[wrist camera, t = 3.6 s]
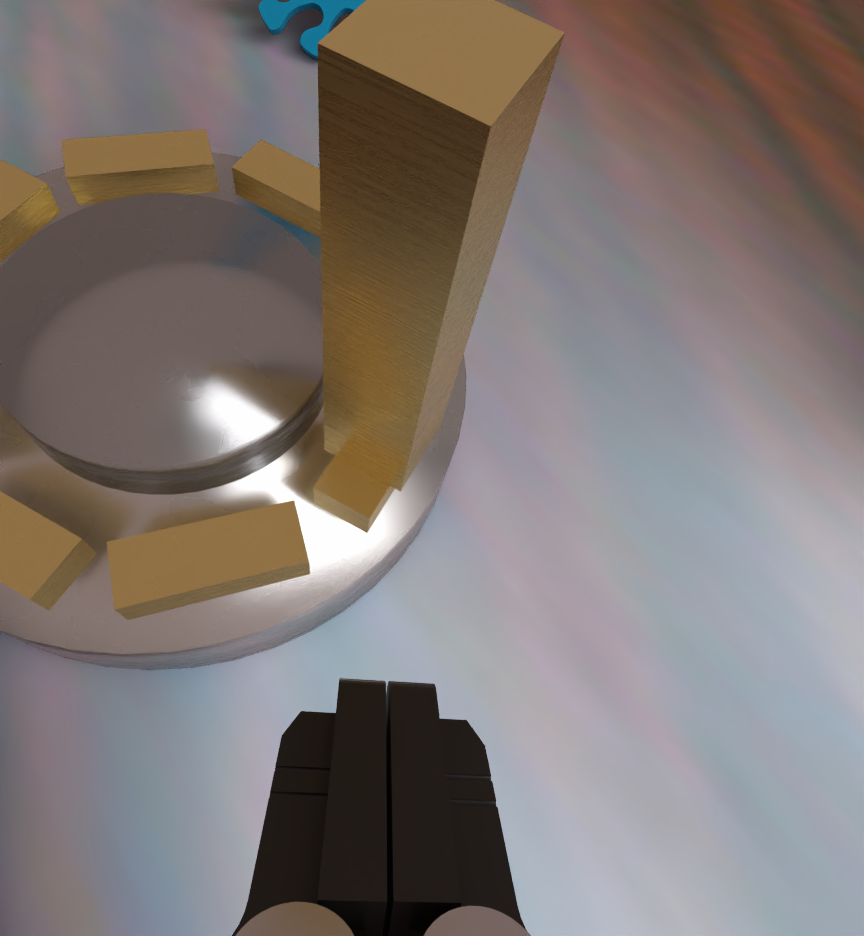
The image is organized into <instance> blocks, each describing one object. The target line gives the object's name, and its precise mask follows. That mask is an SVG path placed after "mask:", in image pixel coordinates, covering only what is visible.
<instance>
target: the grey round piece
mask: <svg viewBox="0 0 864 936" xmlns="http://www.w3.org/2000/svg"><path fill="white" fill-rule="evenodd" d="M212 157H213V162H214V166H215V172H216V177H217V182H218V187H219V192H211V193H201V194H178V193H158V194H144V195H135V196H128V197H123V198H118V199H113V200H109V201H105V202H102V203H99V204H88V205H78V204H77V202H76V199H75V197H74V195H73V192H72V190H71V188H70V186H69V183H68V181H67V179H66V176H65V167H63V168H60V169H56V170H53V171H49V172H47V173H44V174H41V175H39V176H36V177H35V178H37V179H39V180H41V181H43V182H45V183H47V184H48V187H49V189H50V191H51V193H52V195H53V197H54V199H55V201H56V203H57V205H58V208H59V210H60V212H61V213H59V214H58V215H57V216H56V217H55V218H53V219H52V220H51V221H50V222H49V223H47V224H46V225H45V226H44V227H42V228H41V229H40V230H39V231H38V232H36V233H35V234H34V235H33V236H32V237H30V238H29V239H28V240H27V241H25V242H24V243H23V244H22V245H21V246H19V247H18V248H17V249H16V250H15V251H13V252H12V253H11V254H10V255H8V256H7V257H6V258H5V259H4V260H2V261H1V262H0V491H1V492H3V493H4V494H6V495H8V496H9V497H11V498H13V499H15V500H16V501H18V502H20V503H21V504H23V505H25V506H27V507H28V508H30V509H32V510H33V511H35V512H37V513H39V514H40V515H42V516H44V517H46V518H47V519H49V520H51V521H52V522H54V523H56V524H58V525H59V526H61V527H63V528H64V529H66V530H68V531H70V532H71V533H73V534H75V535H76V536H78V537H80V538H82V539H83V540H84V541H85V542H86V543H87V544H88V545H89V546H90V547H91V548H92V549H93V550H94V551H95V552H96V553H97V554H96V555H95V557H94V558H93V559H92V560H91V561H90V563H89V564H88V565H87V566H86V567H85V569H84V570H83V571H82V572H81V573H80V575H79V576H78V577H77V578H76V579H75V581H74V582H73V583H72V584H71V585H70V587H69V588H68V589H67V590H66V591H65V592H64V594H63V595H62V596H61V597H60V598H59V600H58V601H57V602H56V603H55V604H54V606H53V607H52V608H51V609H50V610H49V611H48V610H46V609H45V608H43V607H41V606H40V605H38V604H36V603H35V602H33V601H31V600H30V599H28V598H26V597H25V596H23V595H21V594H20V593H18V592H16V591H15V590H13V589H11V588H9V587H8V586H6V585H4V584H3V583H1V582H0V632H2V633H5V634H7V635H9V636H11V637H14V638H16V639H18V640H21V641H23V642H25V643H27V644H30V645H33V646H35V647H38V648H41V649H43V650H46V651H49V652H52V653H54V654H57V655H60V656H62V657H65V658H69V659H74V660H78V661H83V662H88V663H92V664H97V665H101V666H106V667H118V668H130V669H143V670H159V669H178V668H194V667H199V666H205V665H210V664H216V663H222V662H227V661H233V660H237V659H240V658H243V657H246V656H249V655H253V654H256V653H259V652H262V651H266V650H269V649H272V648H275V647H277V646H279V645H281V644H284V643H286V642H288V641H290V640H292V639H295V638H297V637H299V636H301V635H303V634H306V633H308V632H310V631H312V630H314V629H315V628H317V627H319V626H320V625H322V624H323V623H325V622H327V621H328V620H330V619H332V618H333V617H335V616H336V615H338V614H340V613H341V612H343V611H345V610H346V609H347V608H348V607H350V606H351V605H352V604H353V603H355V602H356V601H357V600H358V599H360V598H361V597H362V596H363V595H364V594H366V593H367V592H368V591H369V590H371V589H372V588H373V587H374V586H375V585H376V584H377V583H378V582H379V581H380V580H381V579H382V578H383V577H384V576H385V575H386V574H387V573H388V572H389V571H390V570H391V569H392V567H393V566H394V565H395V564H396V563H397V562H398V561H399V560H400V558H401V557H402V556H403V554H404V553H405V552H406V550H407V549H408V547H409V546H410V545H411V543H412V542H413V541H414V539H415V538H416V536H417V535H418V534H419V532H420V530H421V528H422V526H423V524H424V522H425V521H426V519H427V517H428V515H429V513H430V511H431V509H432V507H433V506H434V503H435V501H436V498H437V495H438V493H439V490H440V487H441V485H442V482H443V480H444V477H445V474H446V472H447V469H448V466H449V463H450V461H451V458H452V455H453V452H454V450H455V447H456V444H457V441H458V438H459V434H460V429H461V424H462V419H463V414H464V409H465V394H466V369H465V360H464V354H463V357H462V360H461V363H460V367H459V370H458V373H457V376H456V379H455V382H454V386H453V389H452V392H451V395H450V398H449V401H448V405H447V408H446V411H445V414H444V417H443V420H442V424H441V427H440V428H439V430H438V432H437V433H436V435H435V436H434V438H433V440H432V441H431V443H430V445H429V446H428V448H427V450H426V451H425V453H424V454H423V456H422V458H421V459H420V461H419V463H418V464H417V466H416V467H415V469H414V471H413V472H412V474H411V476H410V477H409V479H408V481H407V482H406V484H405V485H404V487H403V489H402V490H401V492H400V491H398V490H396V489H394V491H393V492H392V494H391V496H390V497H389V499H388V501H387V502H386V504H385V505H384V507H383V509H382V510H381V512H380V514H379V515H378V517H377V518H376V520H375V522H374V523H373V525H372V526H371V528H370V530H369V531H368V533H366V532H364V531H362V530H360V529H358V528H357V527H355V526H353V525H351V524H349V523H348V522H346V521H344V520H342V519H340V518H339V517H337V516H335V515H333V514H331V513H330V512H328V511H326V510H324V509H322V508H321V507H319V506H317V505H315V504H314V492H313V487H314V486H315V484H316V483H317V481H318V480H319V478H320V477H321V476H322V474H323V473H324V471H325V470H326V468H327V467H328V465H329V464H330V463H331V461H332V460H333V458H334V457H335V456H334V455H332V454H330V453H329V452H327V451H325V450H324V394H323V335H322V276H321V238H320V237H318V236H316V235H314V234H312V233H310V232H308V231H306V230H304V229H302V228H300V227H298V226H296V225H294V224H292V223H291V222H289V221H287V220H285V219H283V218H281V217H279V216H277V215H275V214H273V213H271V212H269V211H267V210H265V209H263V208H261V207H259V206H257V205H255V204H253V203H251V202H249V201H247V200H245V199H244V198H242V197H240V196H238V195H236V191H235V185H234V179H233V173H232V166H233V165H234V164H235V163H236V162H238V161H239V160H240V159H241V158H242V157H237V156H231V155H225V154H217V153H212ZM292 500H295V505H296V509H297V513H298V517H299V521H300V526H301V530H302V534H303V538H304V542H305V546H306V551H307V555H308V559H309V566H310V574H309V575H305V576H301V577H297V578H293V579H289V580H285V581H281V582H277V583H273V584H269V585H266V586H262V587H258V588H254V589H250V590H246V591H242V592H238V593H234V594H230V595H226V596H222V597H218V598H214V599H210V600H206V601H202V602H199V603H195V604H191V605H187V606H183V607H179V608H175V609H171V610H167V611H163V612H159V613H155V614H151V615H147V616H143V617H139V618H135V619H131V620H127V619H126V618H124V617H123V616H122V615H120V614H119V613H118V612H117V611H115V610H114V603H113V594H112V586H111V577H110V568H109V559H108V550H107V542H108V541H113V540H117V539H122V538H126V537H131V536H135V535H140V534H144V533H149V532H153V531H158V530H162V529H167V528H171V527H176V526H180V525H185V524H189V523H194V522H198V521H203V520H207V519H212V518H216V517H221V516H225V515H229V514H234V513H238V512H243V511H247V510H252V509H256V508H261V507H265V506H270V505H274V504H279V503H283V502H288V501H292Z"/></svg>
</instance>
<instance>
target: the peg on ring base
mask: <svg viewBox="0 0 864 936" xmlns="http://www.w3.org/2000/svg"><path fill="white" fill-rule="evenodd" d="M564 33H565V32H563V31H560V30H558V29H556V28H554V27H552V26H549V25H547V24H545V23H543V22H541V21H539V20H536V19H534V18H532V17H530V16H528V15H526V14H523V13H521V12H519V11H517V10H515V9H512V8H510V7H508V6H506V5H504V4H502V3H499V2H497V1H495V0H366V1H365V2H364V3H363V4H361V5H360V6H359V7H358V8H357V9H356V10H355V11H354V12H352V13H351V14H350V15H349V16H348V17H347V18H346V19H344V20H343V21H342V22H341V23H340V24H339V25H338V26H336V27H335V28H334V29H333V30H332V31H331V32H330V33H328V34H327V35H326V36H325V37H324V38H323V39H322V40H320V41H319V42H318V99H319V158H320V169H319V168H317V167H315V166H313V165H311V164H309V163H307V162H305V161H303V160H301V159H299V158H297V157H295V156H293V155H291V154H289V153H287V152H285V151H283V150H281V149H279V148H277V147H275V146H273V145H271V144H269V143H267V142H265V141H263V140H260V141H259V142H258V143H257V144H256V145H255V146H254V147H253V148H251V149H250V150H249V151H248V152H247V153H246V154H245V155H244V156H243V157H242V158H241V159H240V160H239V161H238V162H236V163H235V164H234V165H233V166H232V173H233V179H234V185H235V191H236V195H238V196H240V197H242V198H244V199H245V200H247V201H249V202H251V203H253V204H255V205H257V206H259V207H261V208H263V209H265V210H267V211H269V212H271V213H273V214H275V215H277V216H279V217H281V218H283V219H285V220H287V221H289V222H291V223H292V224H294V225H296V226H298V227H300V228H302V229H304V230H306V231H308V232H310V233H312V234H314V235H316V236H318V237H320V238H321V276H322V335H323V394H324V450H325V451H327V452H329V453H330V454H332V455H334V456H335V457H334V458H333V460H332V461H331V463H330V464H329V465H328V467H327V468H326V470H325V471H324V473H323V474H322V476H321V477H320V478H319V480H318V481H317V483H316V484H315V486H314V487H313V492H314V504H315V505H317V506H319V507H321V508H322V509H324V510H326V511H328V512H330V513H331V514H333V515H335V516H337V517H339V518H340V519H342V520H344V521H346V522H348V523H349V524H351V525H353V526H355V527H357V528H358V529H360V530H362V531H364V532H366V533H368V531H369V530H370V528H371V526H372V525H373V523H374V522H375V520H376V518H377V517H378V515H379V514H380V512H381V510H382V509H383V507H384V505H385V504H386V502H387V501H388V499H389V497H390V496H391V494H392V492H393V491H394V489H396V490H398V491H400V492H401V490H402V489H403V487H404V485H405V484H406V482H407V481H408V479H409V477H410V476H411V474H412V472H413V471H414V469H415V467H416V466H417V464H418V463H419V461H420V459H421V458H422V456H423V454H424V453H425V451H426V450H427V448H428V446H429V445H430V443H431V441H432V440H433V438H434V436H435V435H436V433H437V432H438V430H439V428H440V427H441V424H442V420H443V417H444V414H445V411H446V408H447V405H448V401H449V398H450V395H451V392H452V389H453V386H454V382H455V379H456V376H457V373H458V370H459V367H460V363H461V360H462V357H463V354H464V351H465V347H466V344H467V341H468V338H469V335H470V332H471V328H472V325H473V322H474V319H475V316H476V313H477V309H478V306H479V303H480V300H481V297H482V293H483V290H484V287H485V284H486V281H487V278H488V274H489V271H490V268H491V265H492V262H493V259H494V255H495V252H496V249H497V246H498V243H499V240H500V236H501V233H502V230H503V227H504V224H505V220H506V217H507V214H508V211H509V208H510V205H511V201H512V198H513V195H514V192H515V189H516V186H517V182H518V179H519V176H520V173H521V170H522V167H523V163H524V160H525V157H526V154H527V151H528V147H529V144H530V141H531V138H532V135H533V132H534V128H535V125H536V122H537V119H538V116H539V113H540V109H541V106H542V103H543V100H544V97H545V93H546V90H547V87H548V84H549V81H550V78H551V74H552V71H553V68H554V65H555V62H556V59H557V55H558V52H559V49H560V46H561V43H562V40H563V36H564ZM62 149H63V158H64V167H65V176H66V179H67V181H68V183H69V186H70V188H71V190H72V192H73V195H74V197H75V199H76V202H77V204H78V205H88V204H99V203H102V202H105V201H109V200H113V199H118V198H123V197H128V196H135V195H144V194H158V193H178V194H201V193H211V192H219V187H218V182H217V177H216V172H215V166H214V162H213V157H212V153H211V149H210V145H209V141H208V137H207V132H206V129H202V130H188V131H175V132H161V133H148V134H134V135H121V136H107V137H94V138H80V139H67V140H62ZM59 213H61V212H60V210H59V208H58V205H57V203H56V201H55V199H54V197H53V195H52V193H51V191H50V189H49V187H48V184H47V183H45V182H43V181H41V180H39V179H37V178H35V177H33V176H31V175H30V174H28V173H26V172H24V171H22V170H20V169H18V168H16V167H14V166H12V165H11V164H9V163H7V162H5V161H3V160H2V161H1V162H0V262H1V261H2V260H4V259H5V258H6V257H7V256H8V255H10V254H11V253H12V252H13V251H15V250H16V249H17V248H18V247H19V246H21V245H22V244H23V243H24V242H25V241H27V240H28V239H29V238H30V237H32V236H33V235H34V234H35V233H36V232H38V231H39V230H40V229H41V228H42V227H44V226H45V225H46V224H47V223H49V222H50V221H51V220H52V219H53V218H55V217H56V216H57V215H58V214H59ZM107 550H108V559H109V568H110V577H111V586H112V594H113V603H114V610H115V611H117V612H118V613H119V614H120V615H122V616H123V617H124V618H126V619H127V620H131V619H135V618H139V617H143V616H147V615H151V614H155V613H159V612H163V611H167V610H171V609H175V608H179V607H183V606H187V605H191V604H195V603H199V602H202V601H206V600H210V599H214V598H218V597H222V596H226V595H230V594H234V593H238V592H242V591H246V590H250V589H254V588H258V587H262V586H266V585H269V584H273V583H277V582H281V581H285V580H289V579H293V578H297V577H301V576H305V575H309V574H310V566H309V559H308V555H307V551H306V546H305V542H304V538H303V534H302V530H301V526H300V521H299V517H298V513H297V509H296V505H295V500H292V501H288V502H283V503H279V504H274V505H270V506H265V507H261V508H256V509H252V510H247V511H243V512H238V513H234V514H229V515H225V516H221V517H216V518H212V519H207V520H203V521H198V522H194V523H189V524H185V525H180V526H176V527H171V528H167V529H162V530H158V531H153V532H149V533H144V534H140V535H135V536H131V537H126V538H122V539H117V540H113V541H108V542H107ZM96 554H97V553H96V552H95V551H94V550H93V549H92V548H91V547H90V546H89V545H88V544H87V543H86V542H85V541H84V540H83V539H82V538H80V537H78V536H76V535H75V534H73V533H71V532H70V531H68V530H66V529H64V528H63V527H61V526H59V525H58V524H56V523H54V522H52V521H51V520H49V519H47V518H46V517H44V516H42V515H40V514H39V513H37V512H35V511H33V510H32V509H30V508H28V507H27V506H25V505H23V504H21V503H20V502H18V501H16V500H15V499H13V498H11V497H9V496H8V495H6V494H4V493H3V492H1V491H0V582H1V583H3V584H4V585H6V586H8V587H9V588H11V589H13V590H15V591H16V592H18V593H20V594H21V595H23V596H25V597H26V598H28V599H30V600H31V601H33V602H35V603H36V604H38V605H40V606H41V607H43V608H45V609H46V610H48V611H49V610H50V609H51V608H52V607H53V606H54V604H55V603H56V602H57V601H58V600H59V598H60V597H61V596H62V595H63V594H64V592H65V591H66V590H67V589H68V588H69V587H70V585H71V584H72V583H73V582H74V581H75V579H76V578H77V577H78V576H79V575H80V573H81V572H82V571H83V570H84V569H85V567H86V566H87V565H88V564H89V563H90V561H91V560H92V559H93V558H94V557H95V555H96Z"/></svg>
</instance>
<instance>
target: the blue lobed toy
mask: <svg viewBox="0 0 864 936" xmlns="http://www.w3.org/2000/svg"><path fill="white" fill-rule="evenodd" d="M365 1H366V0H290V1H288V2H280V1H277V0H263V1H261V3H260V4H259V6H258V7H259V11H260V13H261V16H262V18H263V21H264V23H265V25H266V26H267V28H268V29H269V31H270V32H271V34H272V35H276V34H279V33H280V32H282V31H283V29H284V27H285V25H286V24H287V22H288V21H289V19H290V18H292V17H293V16H294V15H295V14H297V13H298V12H301V11H304V10H307V9H311V8H315V9H318V10H319V11H320V12H321V13H322V15H323V17H324V18H323V22H322V23H321V24H320V25H319V26H317V27H314V28H310V29H307V30H306V31H304V33H303V34H302V36H301V39H300V44H301V48H302V49H303V50H304V52H305V53H307V54H308V55H309V56H311V57H312V58H314V59H316V60H318V42H319V41H320V40H322V39H323V38H324V37H325V36H326V35H327V34H328V33H330V30H331V28H332V26H333V25H334V24H335V22H336V21H337V20H338V19H339V18H340V16H342V15H343V14H345V13H349V14H351V13H352V12H354V11H355V10H356V9H357V8H358V7H359V6H360V5H361V4H363V3H364V2H365Z"/></svg>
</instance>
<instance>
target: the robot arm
mask: <svg viewBox="0 0 864 936" xmlns="http://www.w3.org/2000/svg"><path fill="white" fill-rule="evenodd" d="M232 936H530V934H529V933H528V932H527V930H526V929H525V926H524V924H523V922H522V919H521V917H520V913H519V910H518V906H517V901H516V896H515V891H514V887H513V882H512V877H511V872H510V867H509V862H508V857H507V852H506V847H505V842H504V837H503V832H502V827H501V823H500V818H499V813H498V808H497V807H496V798H495V793H494V788H493V783H492V781H491V773H490V768H489V764H488V759H487V754H486V749H485V745H484V744H483V742H482V741H481V740H480V738H479V737H478V735H477V734H476V733H475V731H474V730H473V728H472V727H471V726H470V724H469V723H468V721H467V720H453V719H439V710H438V702H437V693H436V687H435V684H427V683H411V682H395V681H389V682H388V686H387V693H386V683H385V681H375V680H359V679H343V678H340V679H339V689H338V699H337V709H336V713H323V712H305V711H301V712H300V713H299V715H298V716H297V717H296V718H295V720H294V721H293V722H292V723H291V725H290V726H289V727H288V729H287V730H286V731H285V732H284V734H283V735H282V738H281V742H280V747H279V752H278V757H277V762H276V768H275V772H274V777H273V781H272V786H271V791H270V798H269V801H268V806H267V811H266V816H265V820H264V825H263V830H262V835H261V840H260V845H259V850H258V854H257V859H256V864H255V869H254V874H253V879H252V884H251V889H250V893H249V898H248V902H247V906H246V909H245V912H244V915H243V917H242V919H241V921H240V924H239V925H238V927H237V928H236V930H235V932H234V933H233V935H232Z"/></svg>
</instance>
